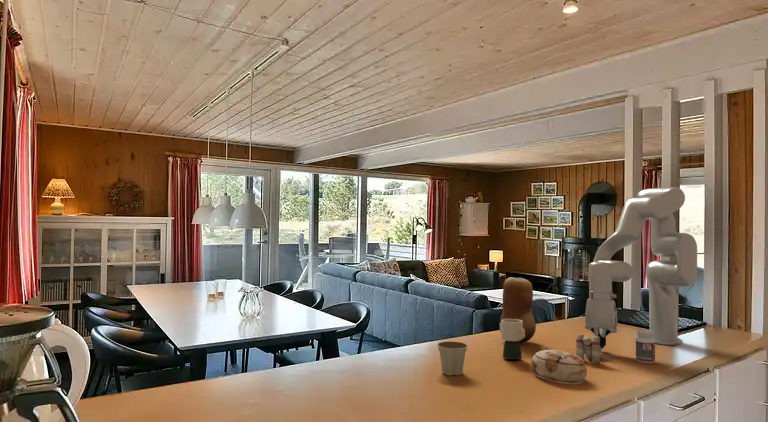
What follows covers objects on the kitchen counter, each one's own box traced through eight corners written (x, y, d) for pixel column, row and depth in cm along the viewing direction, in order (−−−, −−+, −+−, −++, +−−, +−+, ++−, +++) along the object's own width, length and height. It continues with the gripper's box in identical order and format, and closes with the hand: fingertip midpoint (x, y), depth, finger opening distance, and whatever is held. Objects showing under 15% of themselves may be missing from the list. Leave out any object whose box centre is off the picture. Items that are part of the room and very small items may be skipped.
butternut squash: (543, 343, 187) (543, 278, 187) (520, 348, 179) (519, 280, 180) (514, 336, 198) (514, 275, 199) (491, 341, 191) (491, 277, 191)
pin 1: (577, 358, 166) (577, 333, 166) (585, 359, 165) (584, 334, 165) (575, 360, 164) (574, 334, 164) (583, 361, 163) (582, 336, 163)
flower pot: (470, 370, 153) (470, 342, 153) (465, 379, 144) (465, 349, 145) (440, 367, 156) (440, 340, 156) (434, 375, 147) (434, 347, 148)
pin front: (587, 354, 167) (583, 335, 163) (595, 355, 165) (591, 336, 162) (586, 359, 165) (581, 341, 162) (594, 360, 164) (589, 342, 160)
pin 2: (593, 361, 163) (592, 335, 163) (600, 362, 161) (600, 336, 162) (590, 363, 161) (590, 337, 161) (598, 364, 160) (598, 338, 160)
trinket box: (529, 370, 154) (529, 345, 154) (579, 372, 152) (578, 346, 152) (536, 384, 140) (536, 356, 141) (591, 386, 138) (591, 358, 139)
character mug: (532, 361, 163) (531, 322, 163) (517, 364, 159) (516, 324, 160) (507, 353, 172) (507, 316, 173) (493, 356, 168) (492, 319, 169)
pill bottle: (657, 364, 160) (657, 333, 160) (638, 363, 161) (638, 333, 161) (651, 359, 165) (651, 330, 165) (633, 358, 166) (633, 329, 167)
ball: (578, 347, 168) (583, 360, 170) (595, 348, 164) (601, 361, 166) (582, 335, 172) (587, 347, 174) (599, 335, 168) (605, 348, 170)
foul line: (577, 351, 176) (577, 350, 176) (619, 357, 168) (619, 357, 168) (576, 351, 175) (576, 351, 175) (618, 358, 167) (618, 357, 167)
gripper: (625, 297, 174) (626, 348, 174) (582, 293, 183) (582, 342, 183) (620, 299, 168) (621, 353, 168) (575, 295, 178) (576, 346, 177)
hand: (601, 347), depth 175 cm, fingers closed
